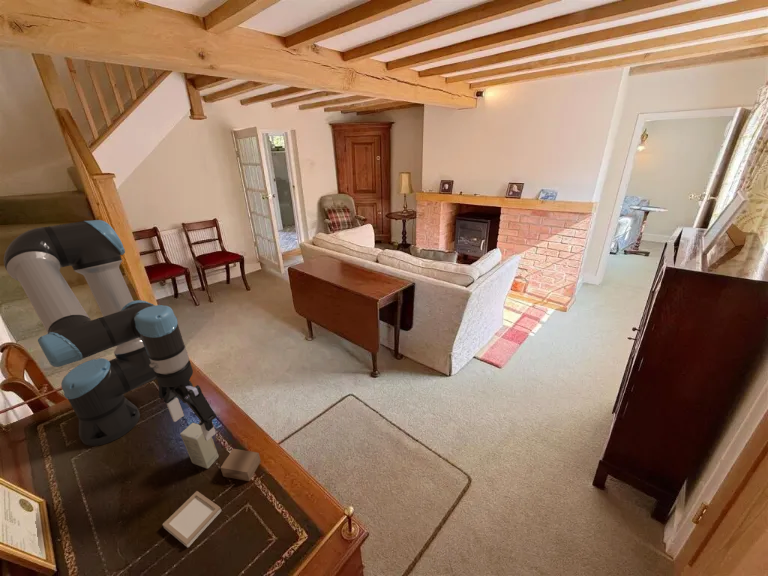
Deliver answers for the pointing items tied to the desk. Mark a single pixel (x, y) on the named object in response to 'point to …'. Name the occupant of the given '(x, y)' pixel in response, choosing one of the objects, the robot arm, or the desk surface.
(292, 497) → the desk surface
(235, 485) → the desk surface
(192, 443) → the skincare box
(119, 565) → the desk surface
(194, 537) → the picture frame
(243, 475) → the walnut box
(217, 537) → the desk surface
